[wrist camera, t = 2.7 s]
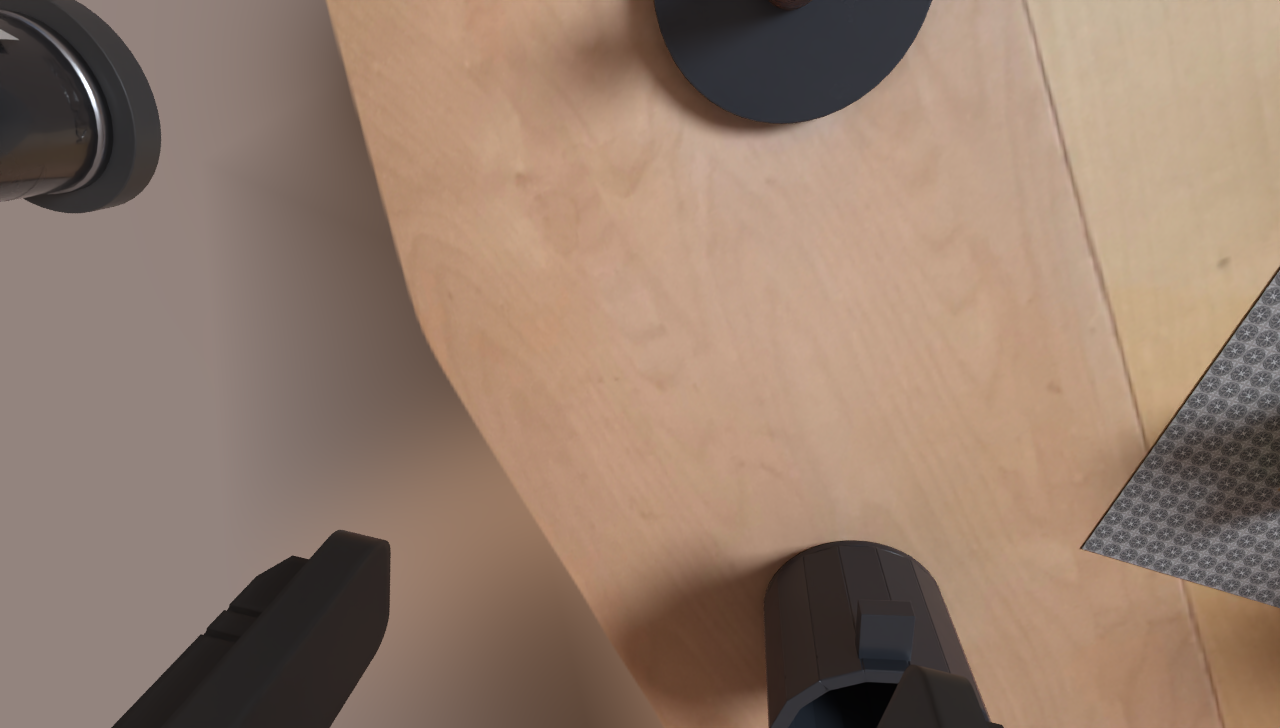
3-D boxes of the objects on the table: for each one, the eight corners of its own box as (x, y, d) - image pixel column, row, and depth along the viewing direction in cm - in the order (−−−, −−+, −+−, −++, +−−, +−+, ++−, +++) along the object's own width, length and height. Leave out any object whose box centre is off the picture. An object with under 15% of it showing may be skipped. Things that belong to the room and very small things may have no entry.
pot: (764, 697, 46) (770, 843, 37) (762, 501, 39) (769, 622, 31) (930, 707, 44) (977, 862, 35) (956, 503, 37) (1021, 632, 29)
